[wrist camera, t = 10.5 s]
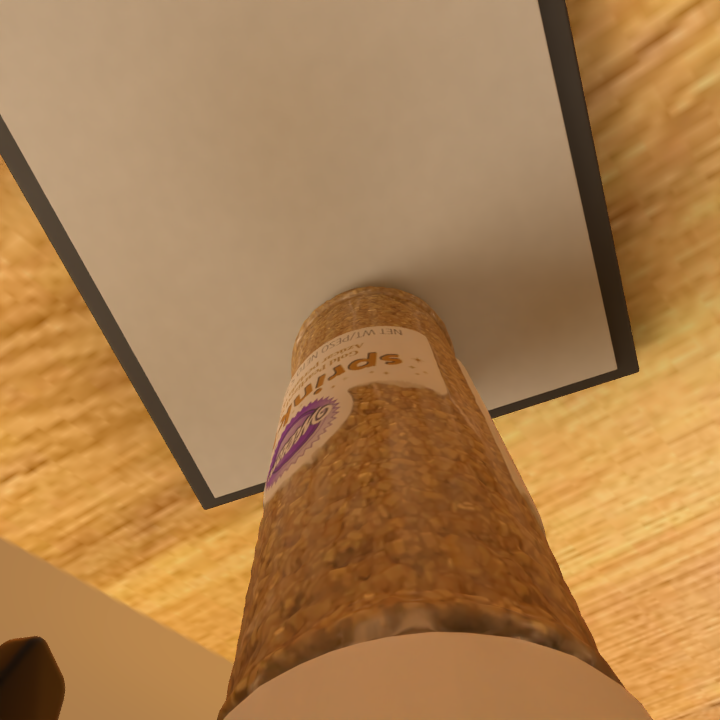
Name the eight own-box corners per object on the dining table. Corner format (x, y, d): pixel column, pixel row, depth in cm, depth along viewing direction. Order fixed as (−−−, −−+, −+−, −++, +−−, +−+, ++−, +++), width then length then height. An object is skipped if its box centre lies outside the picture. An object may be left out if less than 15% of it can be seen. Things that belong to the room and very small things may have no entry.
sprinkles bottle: (333, 254, 15) (282, 821, 3) (483, 325, 16) (980, 1013, 4) (265, 398, 17) (30, 1200, 4) (407, 457, 18) (566, 1275, 5)
